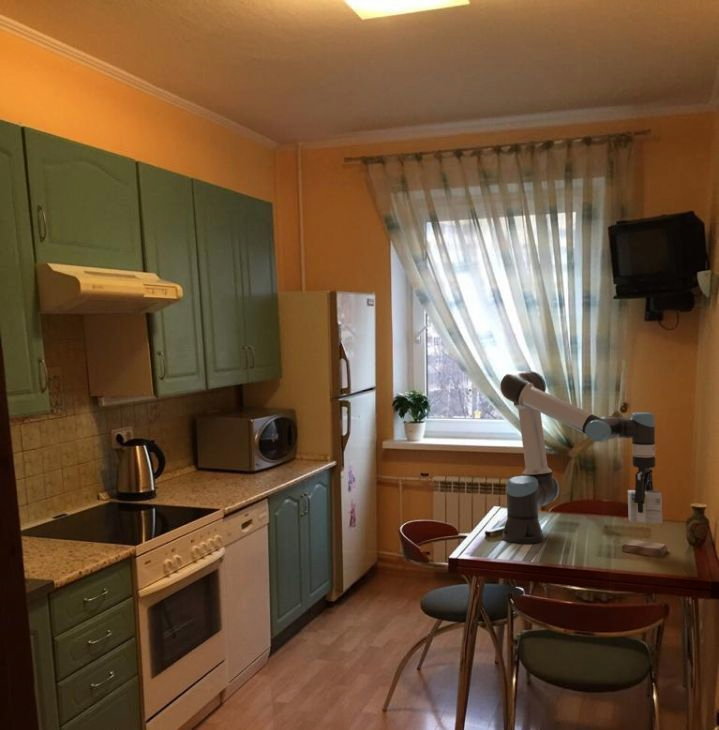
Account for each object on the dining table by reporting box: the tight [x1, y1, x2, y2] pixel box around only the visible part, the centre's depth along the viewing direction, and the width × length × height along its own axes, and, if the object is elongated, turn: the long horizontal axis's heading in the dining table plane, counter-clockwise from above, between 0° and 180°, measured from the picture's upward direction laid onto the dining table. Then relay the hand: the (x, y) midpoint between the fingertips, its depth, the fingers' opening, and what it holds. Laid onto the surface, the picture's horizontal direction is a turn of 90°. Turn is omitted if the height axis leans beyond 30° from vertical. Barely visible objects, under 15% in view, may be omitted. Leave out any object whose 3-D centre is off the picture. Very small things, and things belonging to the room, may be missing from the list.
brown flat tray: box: [621, 538, 668, 558], centre depth 237 cm, size 13×9×2 cm
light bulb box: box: [627, 489, 663, 525], centre depth 236 cm, size 11×7×11 cm, turn 78°
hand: (644, 518), depth 236 cm, fingers closed on light bulb box, 9 cm apart
